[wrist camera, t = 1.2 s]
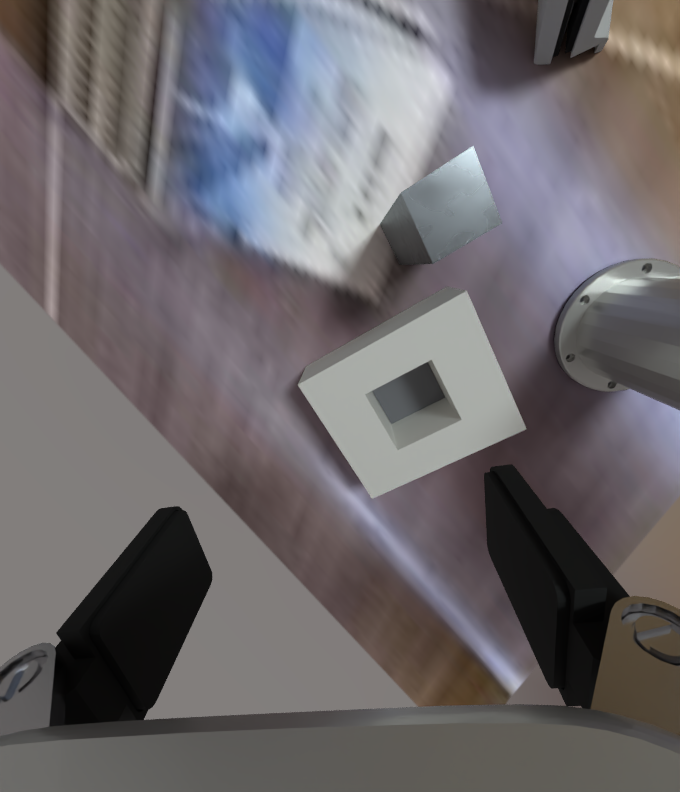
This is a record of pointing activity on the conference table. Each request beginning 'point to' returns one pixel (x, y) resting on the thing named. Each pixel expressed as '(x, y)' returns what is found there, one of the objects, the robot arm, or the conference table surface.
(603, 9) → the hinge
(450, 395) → the well block
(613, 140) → the conference table surface
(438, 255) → the bracket bar
